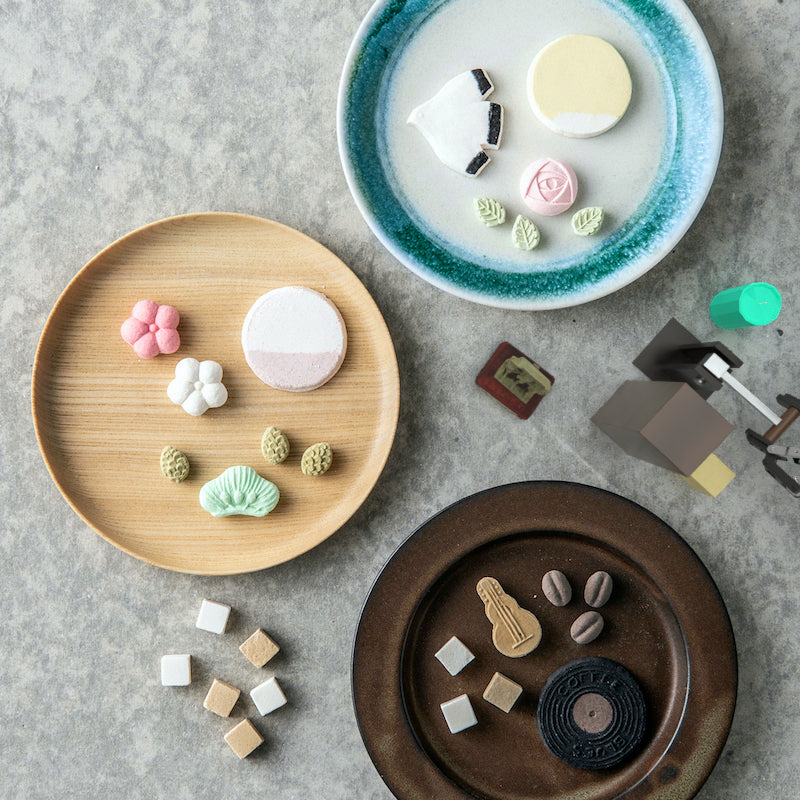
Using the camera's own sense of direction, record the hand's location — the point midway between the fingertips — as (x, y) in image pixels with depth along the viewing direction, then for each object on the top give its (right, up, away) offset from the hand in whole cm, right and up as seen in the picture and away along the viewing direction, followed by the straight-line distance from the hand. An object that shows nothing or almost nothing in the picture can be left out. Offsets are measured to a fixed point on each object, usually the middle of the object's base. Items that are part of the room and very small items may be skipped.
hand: (763, 415), depth 97 cm
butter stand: (-15, 0, +11) cm, 19 cm away
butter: (-5, -8, +11) cm, 15 cm away
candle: (-1, +16, +10) cm, 19 cm away
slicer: (-7, +7, +10) cm, 14 cm away
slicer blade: (-3, +3, -1) cm, 4 cm away
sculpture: (-33, +5, +11) cm, 35 cm away
